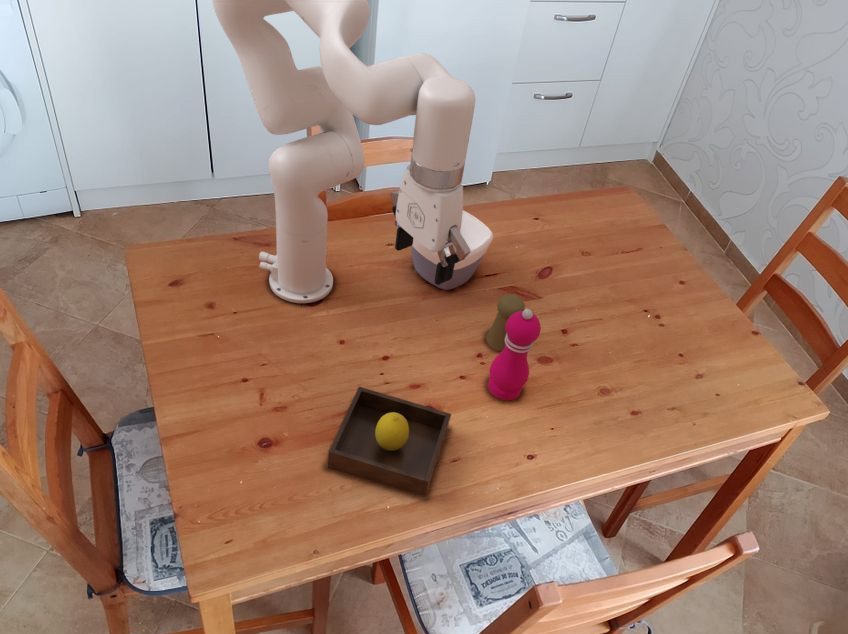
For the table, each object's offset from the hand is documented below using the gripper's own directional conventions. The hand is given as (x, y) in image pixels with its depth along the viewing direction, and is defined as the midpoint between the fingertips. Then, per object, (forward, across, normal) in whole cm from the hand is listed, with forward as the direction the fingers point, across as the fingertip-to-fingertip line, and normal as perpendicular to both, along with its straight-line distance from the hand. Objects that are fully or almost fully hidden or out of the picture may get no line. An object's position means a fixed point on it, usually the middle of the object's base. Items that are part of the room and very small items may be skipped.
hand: (423, 263), depth 114 cm
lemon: (+28, +10, -12) cm, 32 cm away
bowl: (+27, -20, +26) cm, 43 cm away
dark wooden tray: (+28, +10, -12) cm, 32 cm away
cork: (+28, +2, +22) cm, 36 cm away
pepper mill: (+28, +12, +14) cm, 33 cm away
